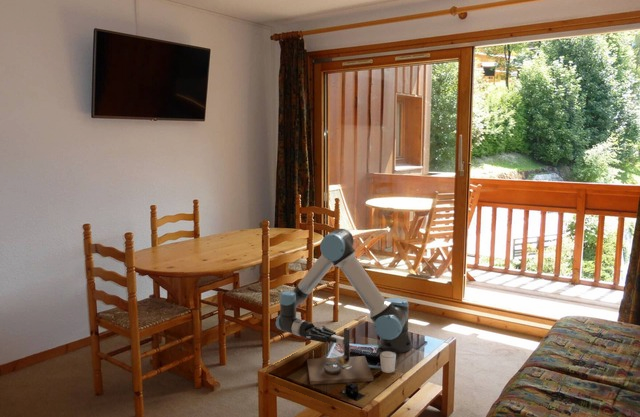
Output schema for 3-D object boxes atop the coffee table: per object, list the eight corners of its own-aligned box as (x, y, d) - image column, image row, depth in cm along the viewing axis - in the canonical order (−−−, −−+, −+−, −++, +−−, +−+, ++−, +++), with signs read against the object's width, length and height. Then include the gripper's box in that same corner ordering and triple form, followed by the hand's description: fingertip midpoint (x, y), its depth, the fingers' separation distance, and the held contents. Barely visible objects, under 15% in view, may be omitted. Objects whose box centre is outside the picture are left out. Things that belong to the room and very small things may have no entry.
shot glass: (376, 367, 211) (377, 352, 210) (390, 364, 213) (390, 349, 212) (385, 374, 204) (385, 359, 203) (399, 371, 207) (399, 356, 206)
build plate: (333, 393, 191) (333, 382, 191) (346, 386, 196) (346, 375, 196) (358, 404, 182) (358, 393, 182) (370, 397, 188) (370, 386, 187)
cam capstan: (335, 375, 200) (335, 343, 198) (321, 371, 203) (320, 339, 201) (355, 360, 214) (355, 329, 212) (341, 356, 217) (341, 326, 215)
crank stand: (364, 359, 219) (364, 355, 219) (373, 380, 199) (373, 376, 199) (307, 362, 217) (307, 358, 216) (310, 384, 197) (310, 380, 197)
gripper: (312, 332, 235) (352, 344, 220) (293, 341, 224) (334, 355, 209) (312, 317, 234) (352, 328, 219) (293, 325, 223) (334, 338, 208)
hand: (343, 341), depth 214 cm, fingers closed
